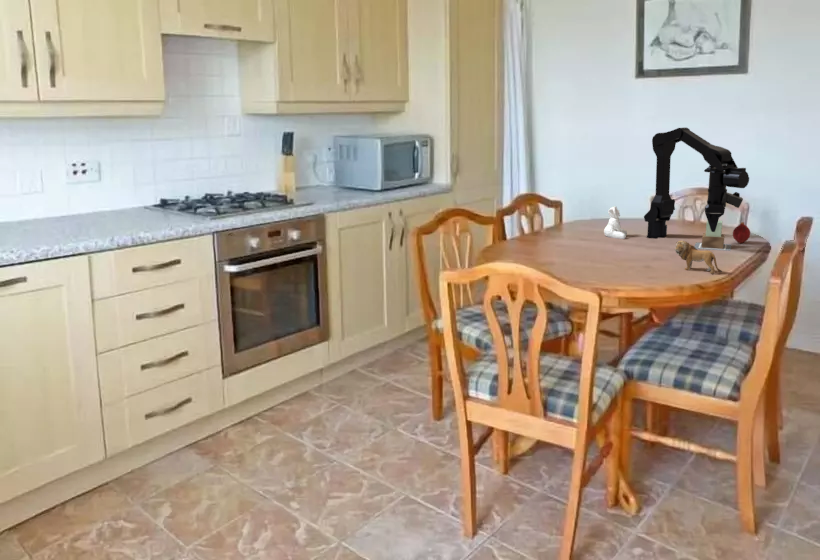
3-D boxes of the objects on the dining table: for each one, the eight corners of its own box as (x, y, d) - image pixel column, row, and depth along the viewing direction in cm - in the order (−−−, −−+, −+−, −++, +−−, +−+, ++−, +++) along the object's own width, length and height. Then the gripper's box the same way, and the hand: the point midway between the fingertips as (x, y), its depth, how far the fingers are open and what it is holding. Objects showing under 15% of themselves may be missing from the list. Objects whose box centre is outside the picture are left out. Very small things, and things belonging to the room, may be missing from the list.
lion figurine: (671, 269, 227) (672, 241, 225) (676, 266, 231) (678, 238, 229) (719, 275, 219) (722, 246, 216) (724, 271, 223) (727, 243, 220)
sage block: (705, 236, 256) (706, 222, 254) (706, 233, 260) (707, 220, 259) (720, 237, 254) (721, 223, 252) (721, 234, 258) (722, 220, 257)
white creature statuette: (625, 239, 277) (626, 208, 274) (602, 238, 279) (603, 207, 277) (627, 235, 285) (628, 204, 282) (604, 234, 288) (605, 204, 285)
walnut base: (701, 247, 256) (702, 236, 255) (702, 244, 262) (703, 233, 261) (722, 248, 253) (723, 237, 252) (723, 245, 259) (724, 234, 258)
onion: (751, 245, 259) (753, 223, 258) (734, 245, 261) (735, 223, 259) (747, 242, 265) (749, 220, 263) (730, 242, 266) (732, 220, 264)
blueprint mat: (693, 249, 255) (693, 248, 255) (695, 243, 266) (695, 242, 265) (730, 251, 250) (730, 250, 250) (731, 245, 261) (731, 244, 260)
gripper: (742, 189, 241) (738, 235, 245) (742, 183, 257) (739, 226, 261) (706, 188, 245) (703, 233, 249) (709, 182, 262) (706, 224, 266)
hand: (713, 229), depth 256 cm, fingers open, 9 cm apart
